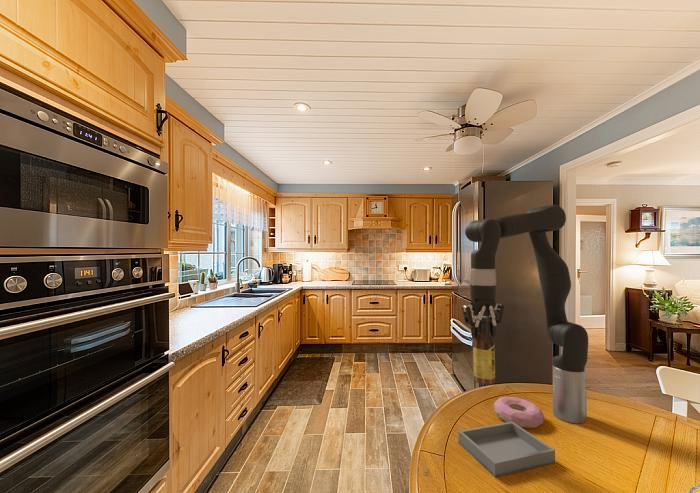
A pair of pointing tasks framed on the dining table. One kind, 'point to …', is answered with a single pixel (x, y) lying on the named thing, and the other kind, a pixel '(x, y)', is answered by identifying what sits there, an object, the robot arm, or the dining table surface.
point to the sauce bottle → (484, 354)
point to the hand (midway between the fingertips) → (483, 337)
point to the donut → (519, 412)
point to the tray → (506, 448)
